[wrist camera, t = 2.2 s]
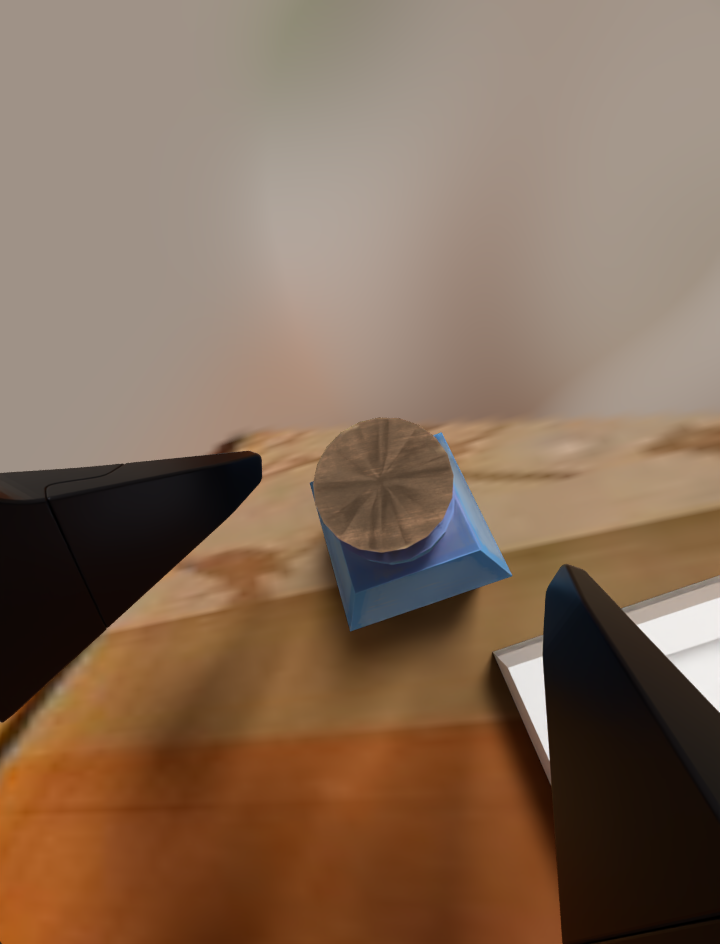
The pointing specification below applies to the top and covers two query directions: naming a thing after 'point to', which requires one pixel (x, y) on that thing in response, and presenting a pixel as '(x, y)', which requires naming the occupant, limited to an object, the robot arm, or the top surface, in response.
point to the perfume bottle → (400, 521)
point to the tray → (662, 620)
